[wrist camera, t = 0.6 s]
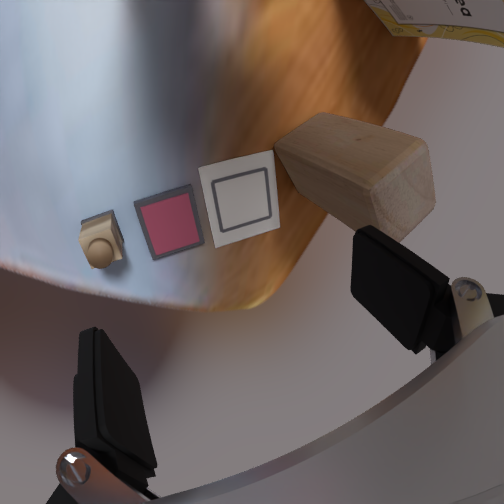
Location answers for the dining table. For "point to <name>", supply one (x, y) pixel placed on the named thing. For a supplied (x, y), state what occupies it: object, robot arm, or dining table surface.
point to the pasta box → (444, 19)
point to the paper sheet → (241, 197)
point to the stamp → (101, 239)
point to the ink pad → (170, 221)
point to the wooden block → (361, 172)
